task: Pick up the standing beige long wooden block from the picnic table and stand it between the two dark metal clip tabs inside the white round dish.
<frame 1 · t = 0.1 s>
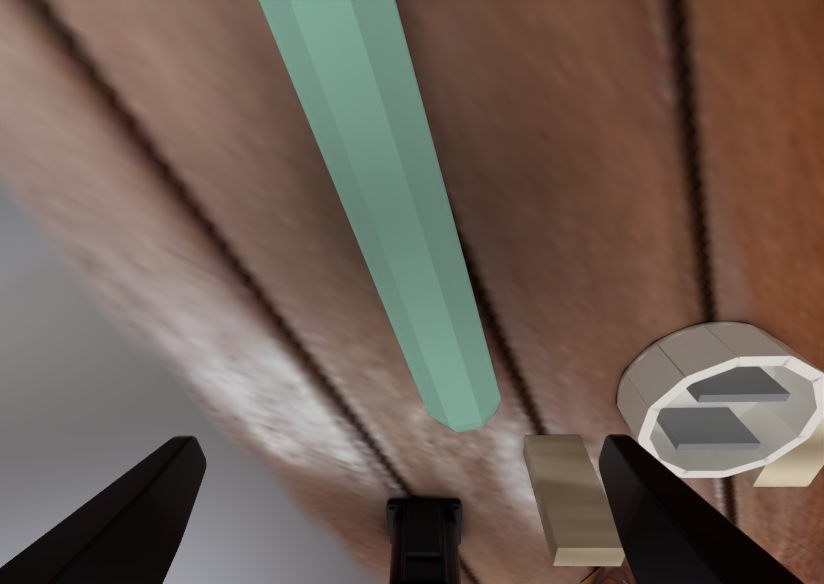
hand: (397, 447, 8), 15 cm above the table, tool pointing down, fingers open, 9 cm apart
beige flat block: (780, 428, 29), on the table
white round dish: (695, 384, 26), on the table
beige long wooden block: (550, 444, 30), on the table
mint green faceted bar: (411, 226, 22), on the table
candy box: (617, 563, 38), on the table
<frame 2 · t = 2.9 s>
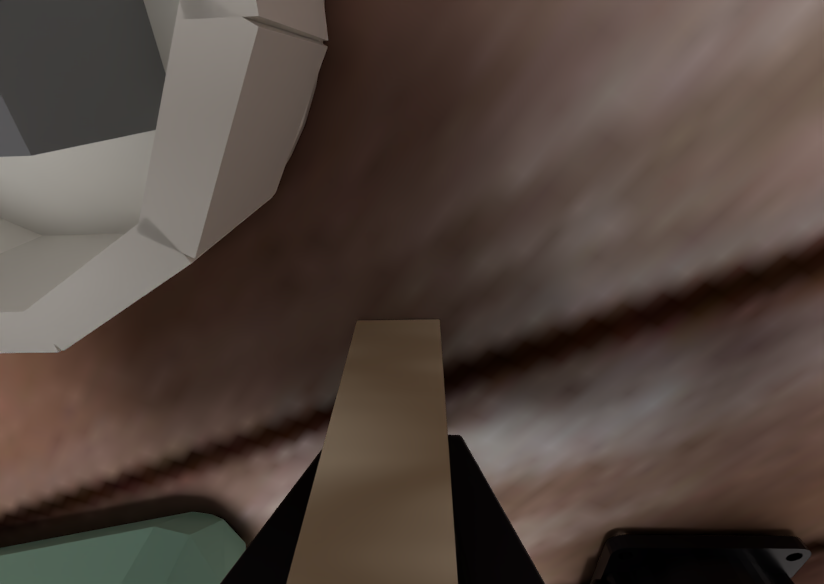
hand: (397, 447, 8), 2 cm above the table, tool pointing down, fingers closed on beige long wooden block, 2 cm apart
beige long wooden block: (401, 382, 10), on the table, touching gripper
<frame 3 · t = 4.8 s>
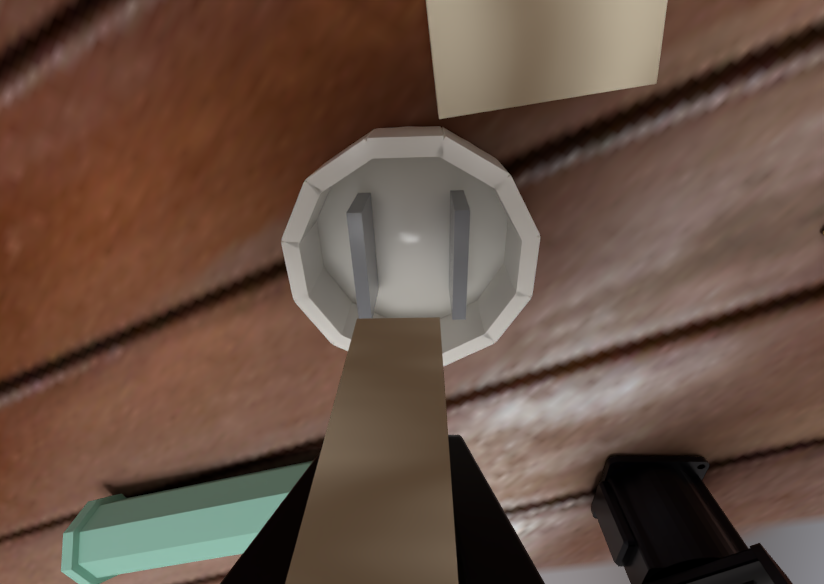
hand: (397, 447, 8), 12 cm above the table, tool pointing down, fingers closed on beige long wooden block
beige flat block: (531, 43, 15), on the table
white round dish: (412, 239, 19), on the table
beige long wooden block: (402, 380, 10), point 10 cm above the table, touching gripper
mint green faceted bar: (265, 475, 29), on the table
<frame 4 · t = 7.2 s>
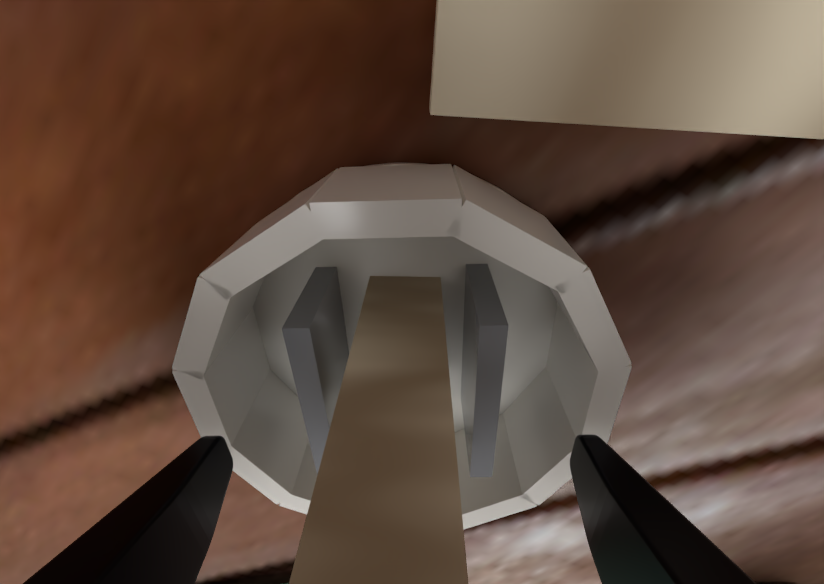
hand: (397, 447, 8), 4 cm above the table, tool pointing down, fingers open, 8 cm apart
beige flat block: (615, 19, 9), on the table
white round dish: (405, 330, 12), on the table
beige long wooden block: (405, 334, 12), resting on white round dish
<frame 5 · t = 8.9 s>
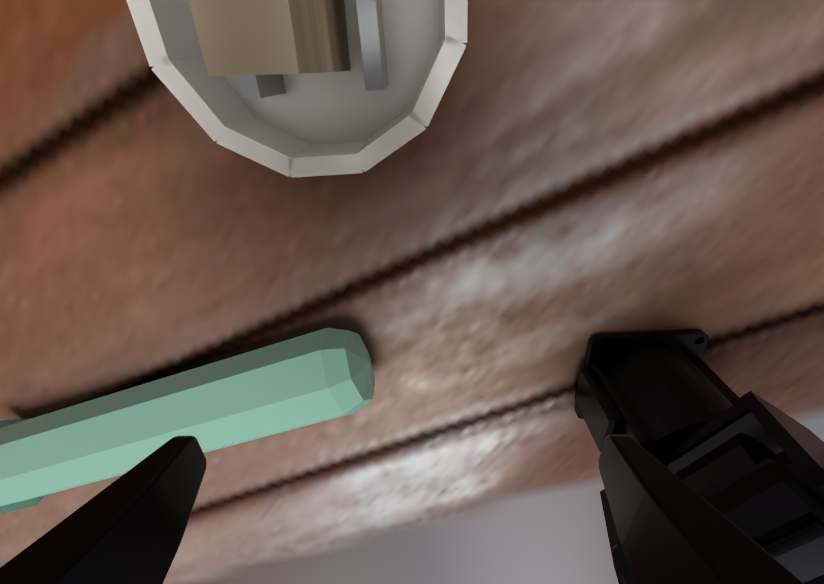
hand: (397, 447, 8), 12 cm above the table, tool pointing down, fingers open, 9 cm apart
white round dish: (320, 15, 15), on the table
beige long wooden block: (318, 9, 14), resting on white round dish
mint green faceted bar: (196, 386, 25), on the table
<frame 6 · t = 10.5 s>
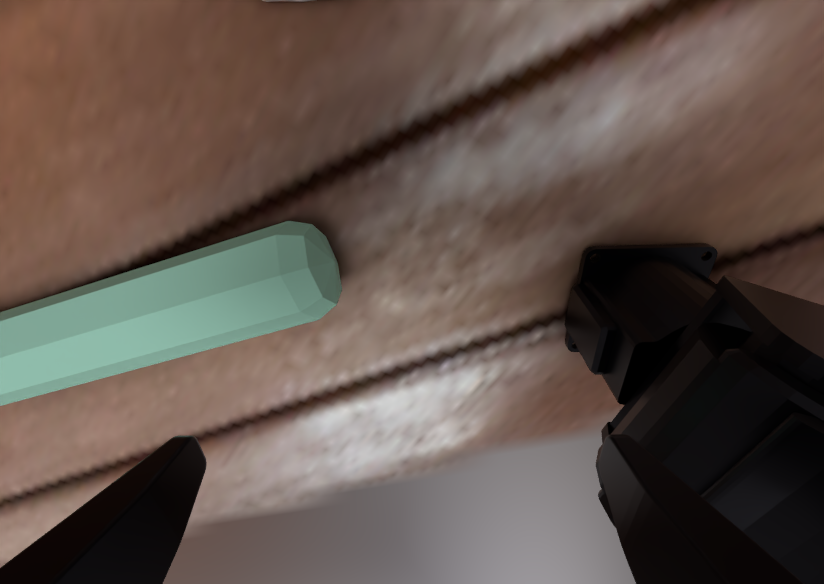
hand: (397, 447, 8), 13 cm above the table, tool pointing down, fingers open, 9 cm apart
mint green faceted bar: (149, 300, 23), on the table
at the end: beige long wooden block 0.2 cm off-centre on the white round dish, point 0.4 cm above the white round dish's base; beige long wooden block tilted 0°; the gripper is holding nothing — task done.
